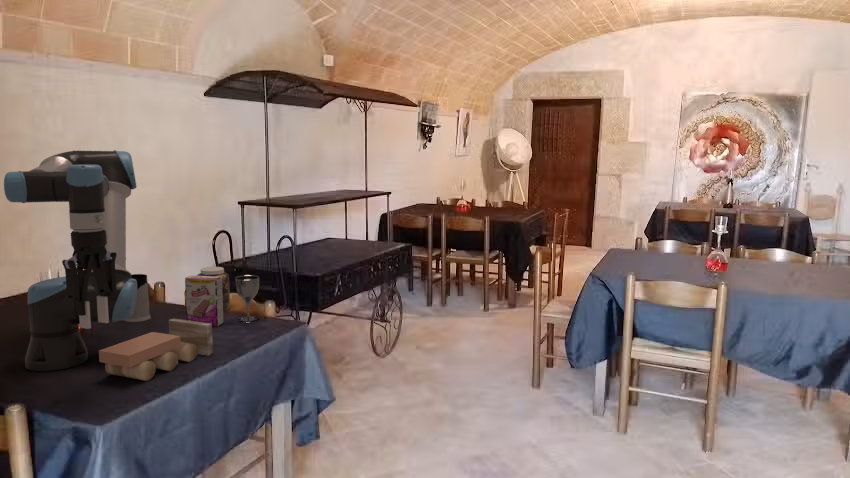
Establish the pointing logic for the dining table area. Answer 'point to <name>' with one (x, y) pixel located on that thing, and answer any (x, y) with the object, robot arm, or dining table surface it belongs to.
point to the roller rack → (189, 334)
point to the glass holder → (141, 299)
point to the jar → (225, 282)
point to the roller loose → (186, 352)
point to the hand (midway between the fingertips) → (94, 324)
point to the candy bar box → (204, 299)
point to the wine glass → (247, 290)
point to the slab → (139, 349)
